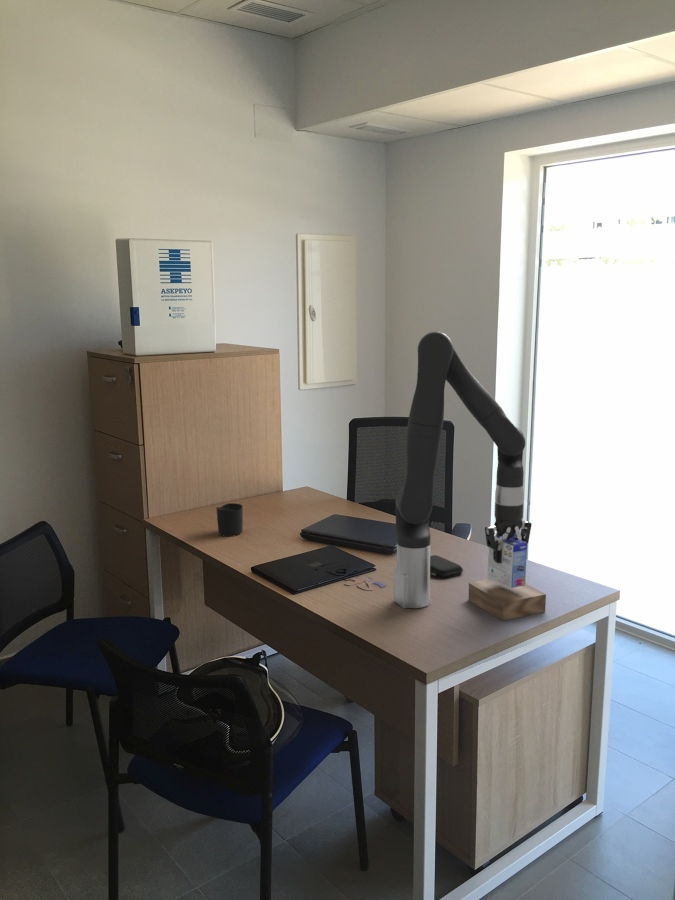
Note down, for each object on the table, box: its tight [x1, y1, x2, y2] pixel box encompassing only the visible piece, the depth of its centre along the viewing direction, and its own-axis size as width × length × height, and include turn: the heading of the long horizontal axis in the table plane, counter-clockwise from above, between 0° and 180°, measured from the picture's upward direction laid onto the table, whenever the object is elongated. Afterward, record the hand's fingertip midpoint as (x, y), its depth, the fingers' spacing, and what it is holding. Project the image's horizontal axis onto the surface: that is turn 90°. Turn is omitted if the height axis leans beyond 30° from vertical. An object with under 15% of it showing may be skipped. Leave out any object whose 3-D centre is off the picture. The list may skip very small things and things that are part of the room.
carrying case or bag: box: [430, 554, 464, 579], centre depth 241 cm, size 11×3×15 cm
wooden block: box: [468, 578, 547, 621], centre depth 213 cm, size 14×16×5 cm
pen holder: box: [216, 502, 244, 537], centre depth 282 cm, size 9×9×10 cm
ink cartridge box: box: [486, 533, 528, 588], centre depth 211 cm, size 10×6×14 cm, turn 32°
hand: (507, 560), depth 211 cm, fingers closed on ink cartridge box, 5 cm apart
